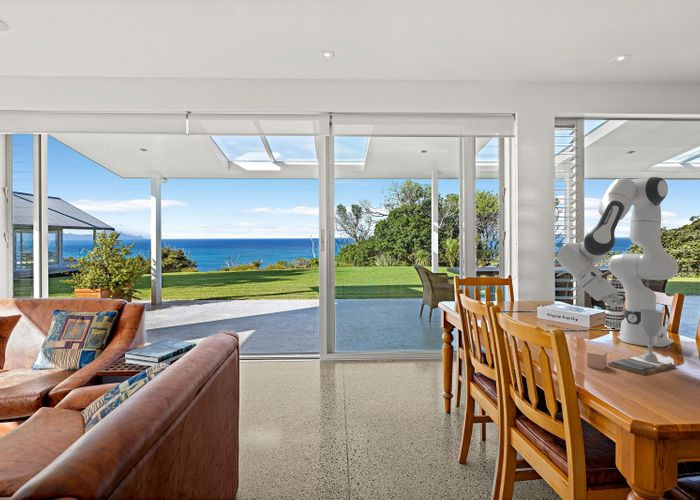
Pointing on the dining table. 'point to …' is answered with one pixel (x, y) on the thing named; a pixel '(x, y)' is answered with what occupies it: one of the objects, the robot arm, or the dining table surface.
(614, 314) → the decorative candle
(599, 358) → the terracotta cube
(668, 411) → the dining table surface
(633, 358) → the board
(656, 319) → the chalice
